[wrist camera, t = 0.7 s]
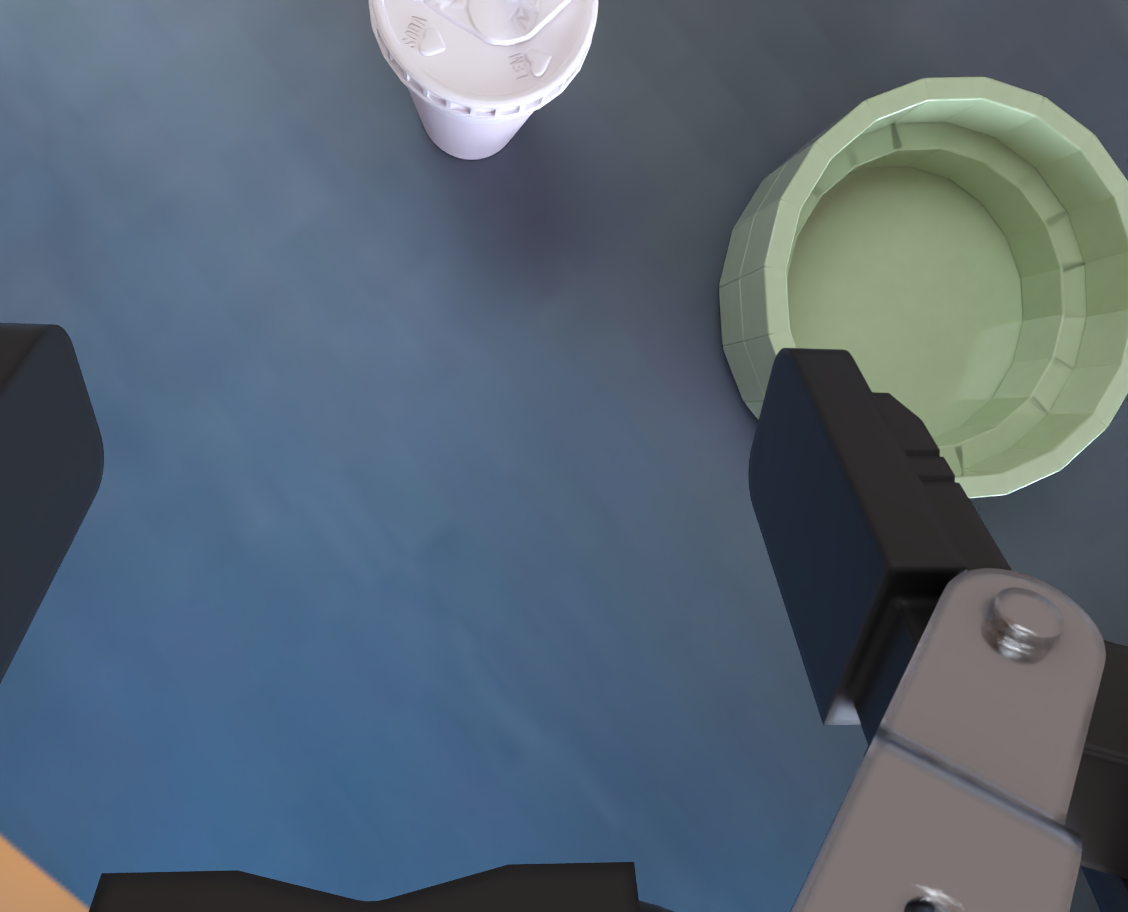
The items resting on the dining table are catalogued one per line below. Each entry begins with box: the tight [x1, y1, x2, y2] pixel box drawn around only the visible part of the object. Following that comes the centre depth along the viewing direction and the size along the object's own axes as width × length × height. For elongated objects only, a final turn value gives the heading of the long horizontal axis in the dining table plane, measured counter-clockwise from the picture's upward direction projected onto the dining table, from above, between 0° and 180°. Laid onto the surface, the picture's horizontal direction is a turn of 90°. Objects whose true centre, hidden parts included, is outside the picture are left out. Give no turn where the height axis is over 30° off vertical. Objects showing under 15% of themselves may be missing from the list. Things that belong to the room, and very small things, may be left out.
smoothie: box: [368, 0, 598, 160], centre depth 28 cm, size 6×6×14 cm
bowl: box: [719, 77, 1128, 498], centre depth 35 cm, size 15×15×6 cm
